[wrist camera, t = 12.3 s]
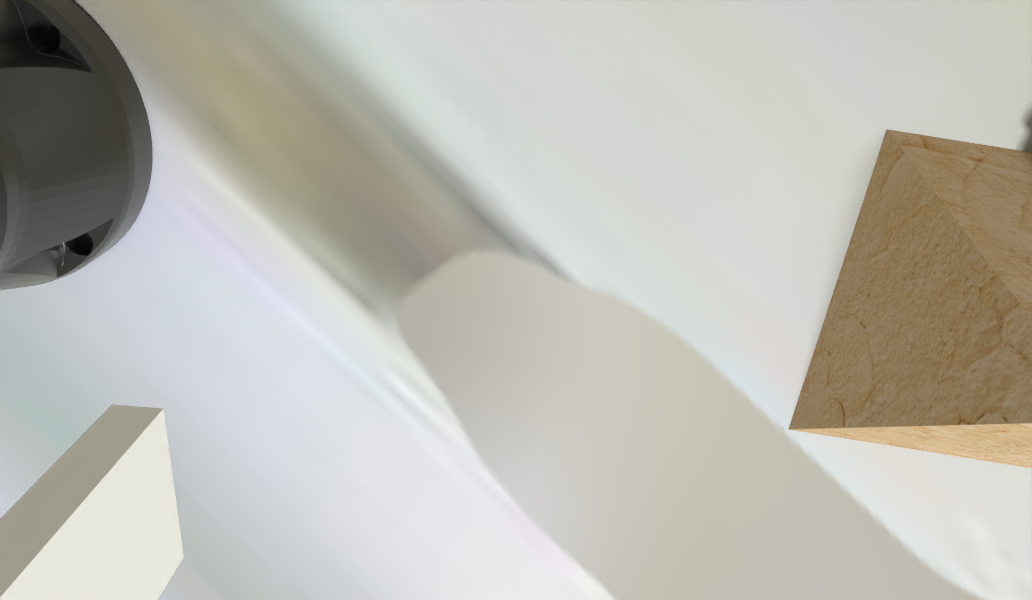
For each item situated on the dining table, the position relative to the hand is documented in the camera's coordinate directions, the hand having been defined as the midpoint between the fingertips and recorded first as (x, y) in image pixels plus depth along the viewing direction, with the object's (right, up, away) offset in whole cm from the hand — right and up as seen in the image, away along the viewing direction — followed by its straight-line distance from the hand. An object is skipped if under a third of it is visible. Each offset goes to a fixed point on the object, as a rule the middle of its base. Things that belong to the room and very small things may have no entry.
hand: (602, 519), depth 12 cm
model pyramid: (+22, +3, +29) cm, 37 cm away
